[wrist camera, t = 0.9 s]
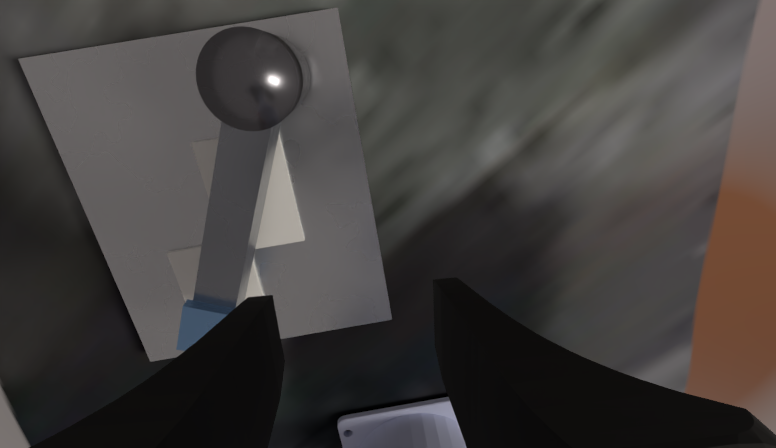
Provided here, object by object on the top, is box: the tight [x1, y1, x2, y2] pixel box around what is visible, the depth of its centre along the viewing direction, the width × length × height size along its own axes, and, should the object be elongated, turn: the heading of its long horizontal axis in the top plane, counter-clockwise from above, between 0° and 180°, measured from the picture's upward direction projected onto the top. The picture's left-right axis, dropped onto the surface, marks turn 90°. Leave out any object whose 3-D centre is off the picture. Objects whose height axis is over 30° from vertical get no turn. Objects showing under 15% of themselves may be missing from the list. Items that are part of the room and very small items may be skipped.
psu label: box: [191, 135, 305, 249], centre depth 18 cm, size 5×4×1 cm
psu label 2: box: [167, 246, 264, 302], centre depth 20 cm, size 5×4×1 cm
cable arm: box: [176, 26, 310, 351], centre depth 16 cm, size 12×3×4 cm, turn 164°
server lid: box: [18, 8, 392, 362], centre depth 19 cm, size 14×12×1 cm
